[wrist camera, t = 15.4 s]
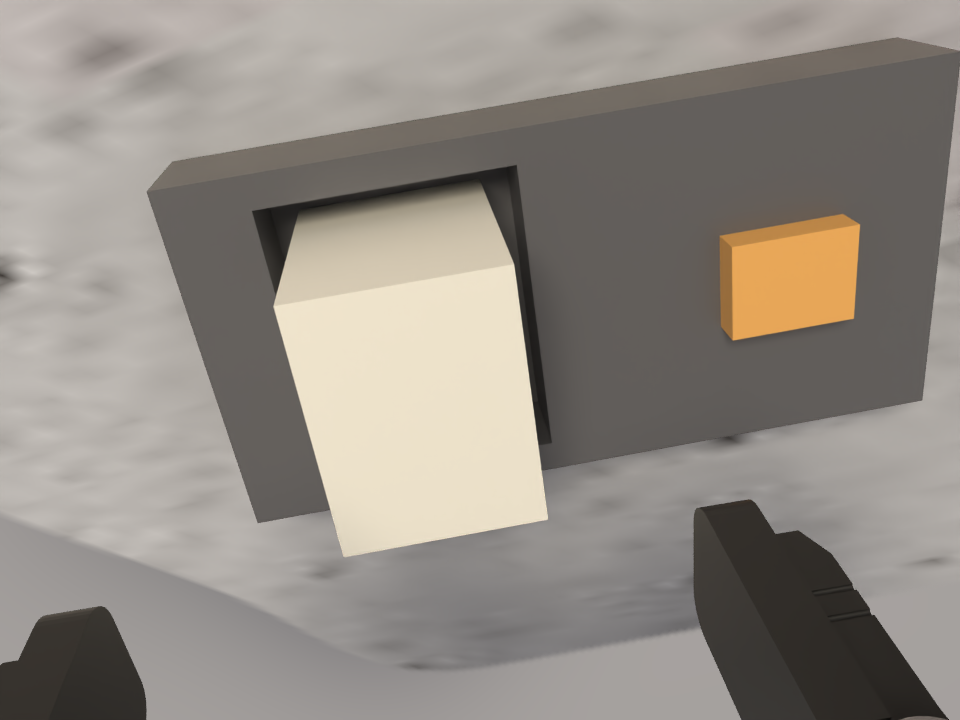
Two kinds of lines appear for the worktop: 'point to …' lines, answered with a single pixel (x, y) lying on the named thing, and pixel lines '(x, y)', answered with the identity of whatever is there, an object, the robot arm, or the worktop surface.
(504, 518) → the block
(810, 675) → the robot arm
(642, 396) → the grey slotted base
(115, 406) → the worktop surface
